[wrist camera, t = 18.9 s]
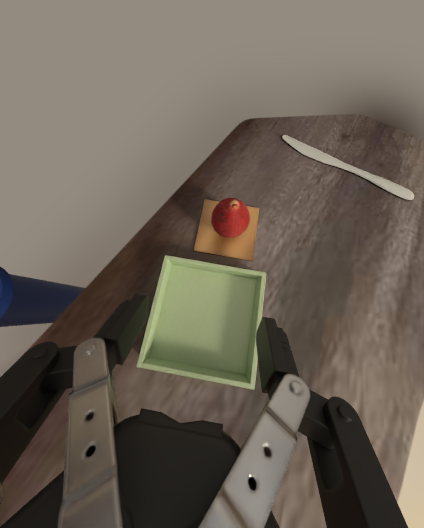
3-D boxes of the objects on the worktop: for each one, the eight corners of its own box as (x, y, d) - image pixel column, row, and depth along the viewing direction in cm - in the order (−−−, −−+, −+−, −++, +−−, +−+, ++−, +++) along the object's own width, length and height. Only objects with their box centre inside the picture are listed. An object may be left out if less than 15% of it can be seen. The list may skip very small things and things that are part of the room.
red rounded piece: (218, 249, 30) (222, 228, 22) (206, 220, 31) (205, 191, 24) (250, 237, 31) (263, 213, 23) (236, 210, 32) (245, 177, 24)
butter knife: (411, 204, 32) (417, 191, 33) (278, 141, 36) (285, 131, 37) (408, 206, 33) (413, 193, 34) (277, 144, 37) (284, 134, 37)
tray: (145, 359, 26) (136, 366, 23) (169, 260, 30) (165, 254, 27) (248, 380, 25) (254, 389, 22) (260, 276, 29) (266, 272, 26)
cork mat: (193, 251, 30) (193, 250, 30) (204, 200, 33) (204, 199, 32) (252, 261, 30) (252, 260, 30) (258, 209, 32) (259, 208, 32)
